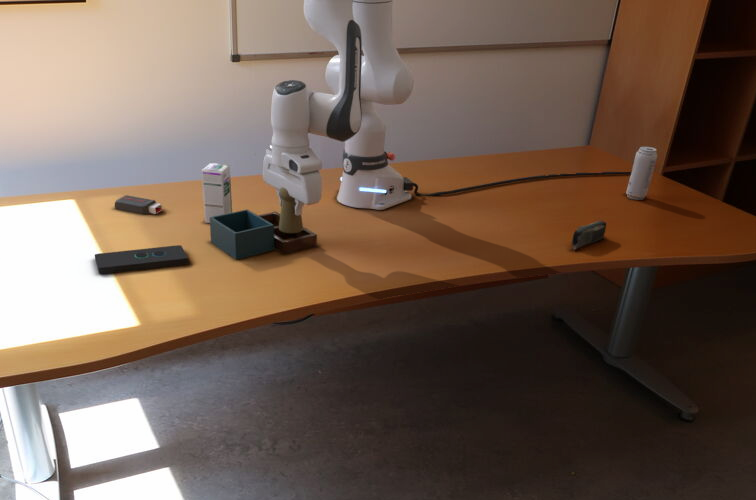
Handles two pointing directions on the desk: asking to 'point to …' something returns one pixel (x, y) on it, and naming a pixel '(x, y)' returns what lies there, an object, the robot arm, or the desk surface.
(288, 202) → the olive pepper mill
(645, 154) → the energy drink can
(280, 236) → the holder
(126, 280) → the desk surface
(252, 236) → the bin
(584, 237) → the mobile phone
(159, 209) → the usb drive
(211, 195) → the syrup box
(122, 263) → the smart home device
